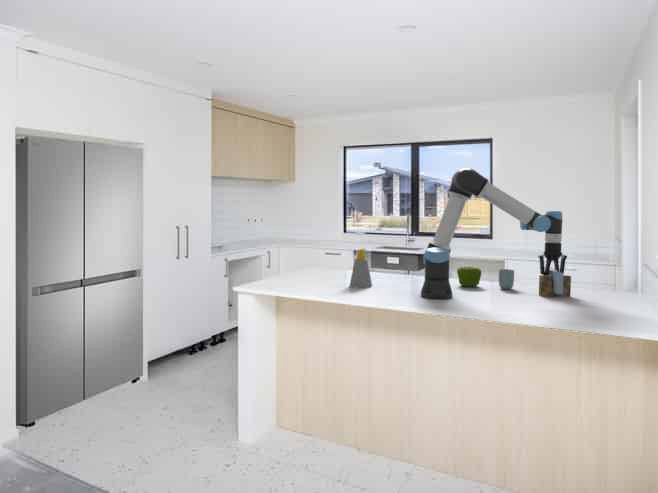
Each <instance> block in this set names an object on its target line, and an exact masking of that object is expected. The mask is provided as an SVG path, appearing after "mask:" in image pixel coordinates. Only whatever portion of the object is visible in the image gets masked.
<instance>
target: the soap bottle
mask: <svg viewBox="0 0 658 493" xmlns="http://www.w3.org/2000/svg"><path fill="white" fill-rule="evenodd" d="M365 250H366V248H362V249H361V248H359V249H358V254H357V255H356V258H355V259H354V263H353V267H352V273H351V276H350V280H349V281H350V282H349V286H352V287H351V288H354V287H359V288H358V289H366V288H365V287H369V288H372V287H373V284H372V282H373V281H372V277H371V272H370V268H369V267H370V266H369V262H368V259H367V258H366V254H365V253H364V251H365ZM371 286H372V287H371Z"/></svg>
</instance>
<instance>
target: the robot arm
mask: <svg viewBox="0 0 658 493" xmlns="http://www.w3.org/2000/svg"><path fill="white" fill-rule="evenodd" d="M448 195H449V197H448V200H447V202H446V205H445V207H444V211H443V213H442V216H441V219H440V221H439V224H438V227H437V229H436V232H435V235H434V238H433V240H430V241H429V243H428V245H427V247H426V250H425V251H424V253H423V255H422V262H423V264H424V281H423V284H422V287H421V290H420V296H421V298H425V299H430V300H431V299H432V300H446V299H452V298H453V289H452V287H451V284H450V258H451V251H452V248H451V246H450V245H451V243H452V240H453V238H454V235H455V231H456V230H457V227H458V225H459V222H460V219H461V216H462V214H463V212H464V208H465V206H466V204H467V202H468V201H469V200H471V199H472V196H474V197H476V198H482V199H484V200H485V201H486V202H488V203H489V204H491V205H493V206H494V207H496V208H497V209H500V210H501V211H503V212H504V213H506V214H507V215H509V216H512V217H513V218H515V219H516V220H518V221H519V228H520V230H522V231H535V232H538V233H543V232H544V235H545V236H544V241H545V243H544V251H543V253H542V254H538V259H539V268H540V269H539V271H540V272H539V273H540V275H548V274H549V270H551V268H550V267H551V263H552V262H553V264H554V270H556V271H559V272H562V273H564V274H565V266H566V260H567V258H568V256H567V255H565V254H563V253H562V236H563V235H562V233H563V221H564V220H563V212H562V211H561V210H560V211H559V210H547V211H545V214H540V213H539V212H537V211H536V210H534V209H532V208H531V207H529V206H528V205H526V204H524V203H523V202H521V201H519V200H518V199H516V198H515V197H513V196H511V195H510V194H508V193H507V192H506V191H503V190H502V189H500V188H499V187H497V186H495V185H494V184H492V183H491V182H490V180H489V179H488V178H486V177H484V176H483V175H482V174H481V173H479V172H478V171H476V170H475V169H473V168H470V167H466V168H465V167H464V168H462V169H459V170H457V171H456V172H454V174H453V176H452V177H451V183H450V186H449V188H448ZM544 259H546V260H544ZM559 259H560V261H559ZM545 262H546V263H545ZM559 263H560V265H559Z"/></svg>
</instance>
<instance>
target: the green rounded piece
mask: <svg viewBox="0 0 658 493" xmlns="http://www.w3.org/2000/svg"><path fill="white" fill-rule="evenodd" d="M456 274H457V277H458V283H459V285H461V287H465V288H474V287H476V286H478V285H480V280H481V277H482V270H481V269H480V268H478V267H473V266H463V267H459V268H457V271H456Z"/></svg>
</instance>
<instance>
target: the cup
mask: <svg viewBox="0 0 658 493" xmlns="http://www.w3.org/2000/svg"><path fill="white" fill-rule="evenodd" d="M514 283H515V270H513V269H505V268H504V269H503V268H502V269H501V268H500V269H499V270H498V286H499V288H500V289H502V290H511V289H512V288H513V287H514V285H515V284H514Z"/></svg>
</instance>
